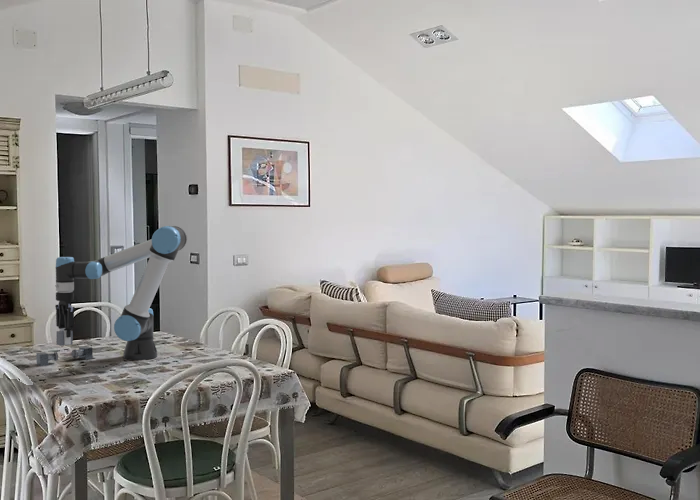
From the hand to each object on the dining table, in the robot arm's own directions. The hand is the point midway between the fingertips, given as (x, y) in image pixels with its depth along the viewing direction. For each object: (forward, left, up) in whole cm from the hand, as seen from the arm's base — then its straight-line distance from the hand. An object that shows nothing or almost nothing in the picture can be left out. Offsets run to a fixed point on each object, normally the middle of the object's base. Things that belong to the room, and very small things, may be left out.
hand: (65, 343), depth 321 cm
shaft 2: (-8, 0, -8) cm, 11 cm away
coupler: (0, 0, 0) cm, 0 cm away
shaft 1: (+7, 0, -8) cm, 11 cm away
